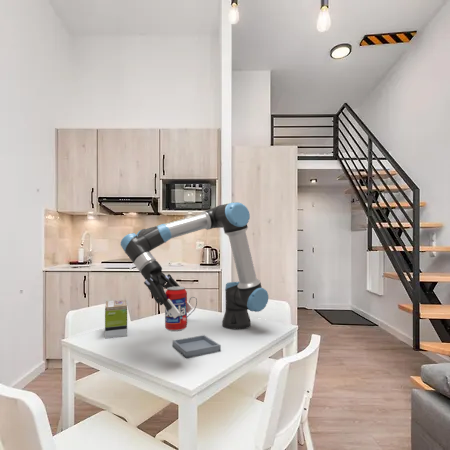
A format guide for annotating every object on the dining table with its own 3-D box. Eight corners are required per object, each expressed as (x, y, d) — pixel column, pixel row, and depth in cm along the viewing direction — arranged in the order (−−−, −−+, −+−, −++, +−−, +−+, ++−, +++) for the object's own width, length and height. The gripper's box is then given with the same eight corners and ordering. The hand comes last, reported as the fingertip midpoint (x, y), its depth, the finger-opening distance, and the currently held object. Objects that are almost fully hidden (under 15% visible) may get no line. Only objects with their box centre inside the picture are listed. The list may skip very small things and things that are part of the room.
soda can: (186, 325, 113) (186, 285, 114) (187, 331, 105) (187, 289, 106) (165, 326, 112) (165, 286, 112) (164, 333, 104) (164, 289, 105)
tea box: (105, 330, 150) (105, 300, 151) (126, 328, 154) (126, 299, 155) (104, 339, 136) (105, 306, 137) (127, 336, 140) (127, 304, 141)
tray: (204, 340, 134) (204, 335, 134) (220, 351, 121) (220, 345, 121) (172, 346, 126) (172, 340, 127) (186, 358, 113) (186, 351, 114)
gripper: (159, 270, 125) (192, 313, 118) (123, 276, 107) (160, 327, 99) (170, 258, 123) (204, 300, 116) (135, 261, 105) (173, 312, 97)
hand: (183, 313), depth 107 cm, fingers closed on soda can, 8 cm apart
